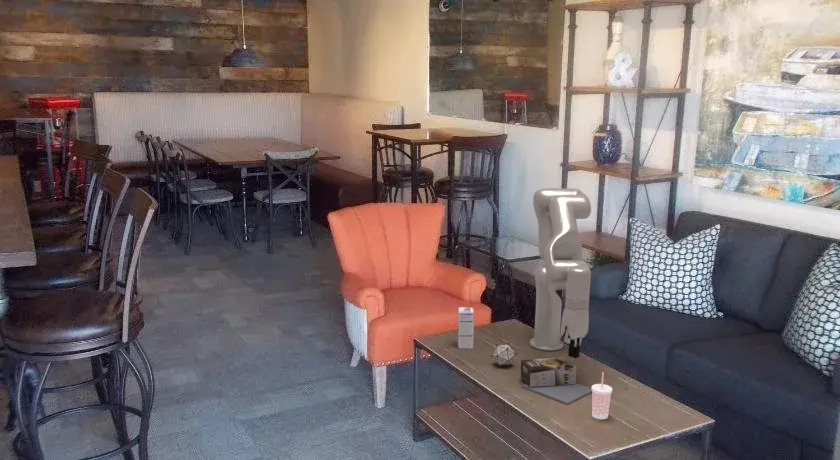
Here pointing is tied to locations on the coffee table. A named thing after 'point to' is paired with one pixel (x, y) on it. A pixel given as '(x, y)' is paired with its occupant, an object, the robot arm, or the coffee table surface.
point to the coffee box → (548, 372)
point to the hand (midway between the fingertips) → (573, 356)
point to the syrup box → (465, 327)
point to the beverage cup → (601, 400)
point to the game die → (503, 355)
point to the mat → (561, 392)
